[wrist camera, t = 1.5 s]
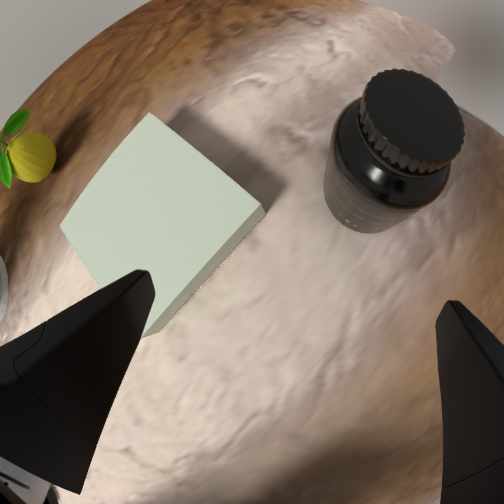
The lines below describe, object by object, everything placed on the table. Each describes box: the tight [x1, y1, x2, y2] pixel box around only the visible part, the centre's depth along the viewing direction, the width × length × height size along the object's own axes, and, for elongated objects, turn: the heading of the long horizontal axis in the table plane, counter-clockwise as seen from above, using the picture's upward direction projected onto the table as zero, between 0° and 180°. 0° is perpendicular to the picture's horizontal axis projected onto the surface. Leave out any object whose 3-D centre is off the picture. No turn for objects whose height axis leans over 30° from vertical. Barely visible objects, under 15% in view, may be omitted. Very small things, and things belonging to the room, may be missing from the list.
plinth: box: [60, 112, 266, 338], centre depth 22 cm, size 13×13×3 cm
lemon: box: [0, 109, 57, 189], centre depth 22 cm, size 7×6×10 cm
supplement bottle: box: [324, 69, 465, 233], centre depth 15 cm, size 7×7×12 cm
